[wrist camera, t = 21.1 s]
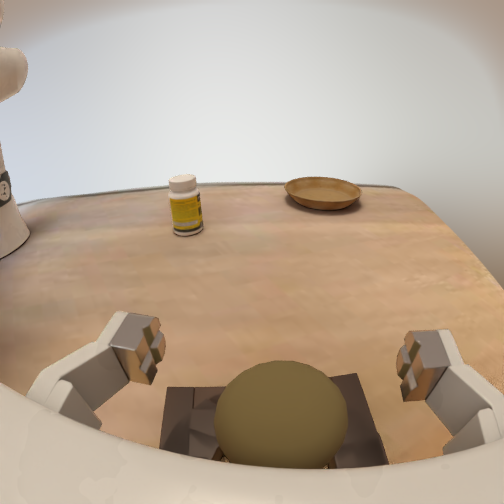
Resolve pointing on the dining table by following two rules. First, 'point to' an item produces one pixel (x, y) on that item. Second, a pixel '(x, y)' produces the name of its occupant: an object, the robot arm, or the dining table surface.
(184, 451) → the holder
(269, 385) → the pepper shaker
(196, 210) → the supplement bottle
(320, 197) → the plant saucer
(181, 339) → the dining table surface
